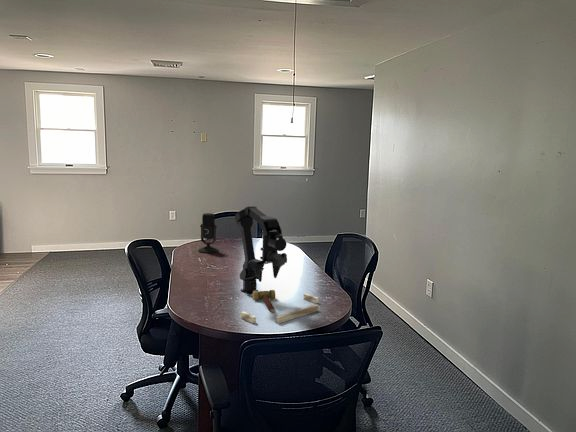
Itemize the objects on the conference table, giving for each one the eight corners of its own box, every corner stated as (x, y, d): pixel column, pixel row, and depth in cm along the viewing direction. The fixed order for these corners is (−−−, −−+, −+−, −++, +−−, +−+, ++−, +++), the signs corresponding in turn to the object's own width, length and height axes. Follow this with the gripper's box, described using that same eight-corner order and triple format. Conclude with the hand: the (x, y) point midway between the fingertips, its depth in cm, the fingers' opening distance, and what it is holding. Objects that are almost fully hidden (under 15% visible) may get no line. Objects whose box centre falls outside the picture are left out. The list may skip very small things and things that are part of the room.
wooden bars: (240, 317, 189) (240, 312, 189) (305, 298, 216) (305, 293, 216) (263, 328, 179) (264, 322, 179) (329, 306, 206) (329, 301, 206)
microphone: (194, 252, 303) (194, 214, 299) (203, 248, 316) (204, 212, 312) (212, 254, 299) (213, 216, 295) (221, 250, 312) (222, 213, 308)
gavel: (284, 306, 197) (261, 307, 194) (284, 316, 198) (261, 317, 195) (273, 288, 217) (252, 289, 214) (273, 297, 217) (252, 298, 215)
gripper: (265, 252, 194) (264, 288, 196) (296, 246, 207) (294, 280, 209) (248, 247, 202) (247, 282, 204) (279, 242, 215) (277, 274, 217)
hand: (267, 279), depth 208 cm, fingers open, 9 cm apart
